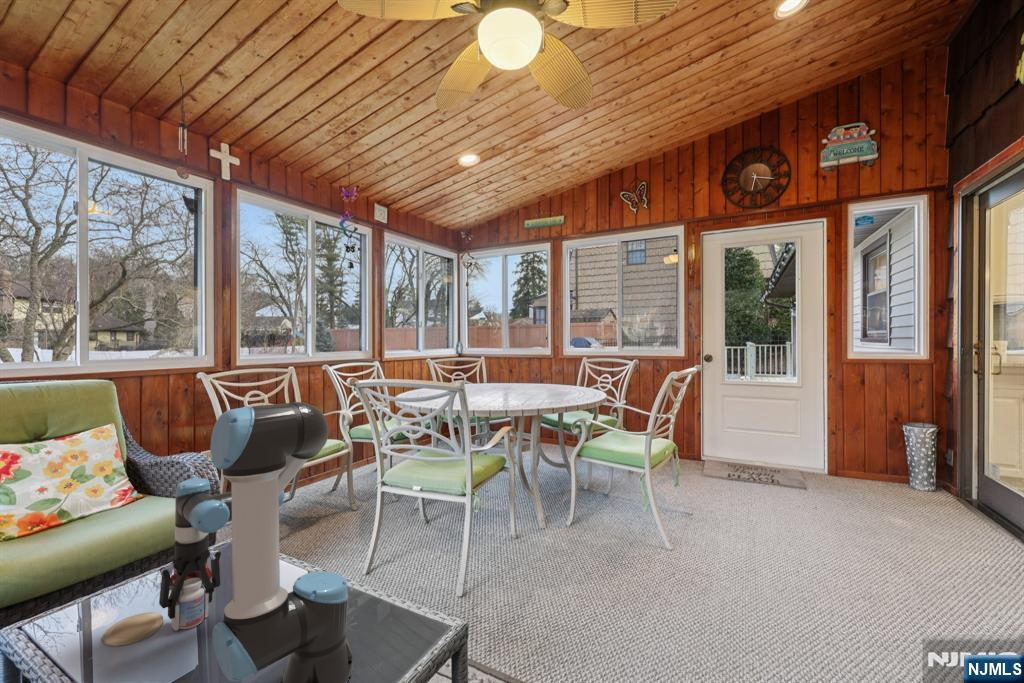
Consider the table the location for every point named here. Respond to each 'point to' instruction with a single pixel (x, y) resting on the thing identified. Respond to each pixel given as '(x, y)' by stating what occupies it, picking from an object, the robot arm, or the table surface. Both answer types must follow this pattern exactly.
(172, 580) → the toy fire truck
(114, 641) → the plate
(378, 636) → the table surface
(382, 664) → the table surface
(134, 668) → the table surface
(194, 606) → the pill bottle
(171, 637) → the table surface
